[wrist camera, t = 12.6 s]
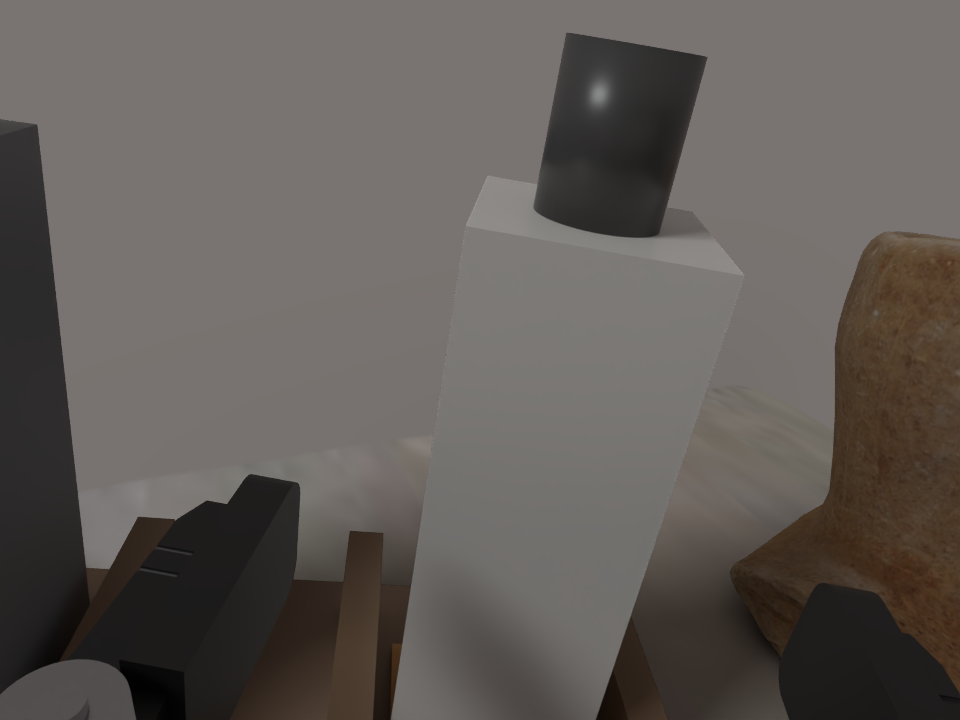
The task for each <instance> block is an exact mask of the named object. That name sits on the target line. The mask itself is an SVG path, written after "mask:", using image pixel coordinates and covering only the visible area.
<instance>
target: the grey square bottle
mask: <svg viewBox="0 0 960 720" xmlns="http://www.w3.org/2000/svg"><path fill="white" fill-rule="evenodd" d="M89 606H90V600H89V591H88V582H87V573H86V564H85V555H84V546H83V537H82V527H81V518H80V509H79V500H78V491H77V482H76V473H75V464H74V455H73V447H72V437H71V428H70V419H69V409H68V401H67V391H66V382H65V374H64V365H63V355H62V346H61V336H60V327H59V319H58V310H57V301H56V291H55V282H54V273H53V264H52V255H51V245H50V237H49V227H48V218H47V210H46V200H45V191H44V182H43V173H42V164H41V155H40V146H39V136H38V127H37V125H36V124H29V123H22V122H15V121H8V120H1V119H0V694H1V693H2V692H4V691H5V690H6V689H7V688H8V687H9V686H11V685H12V684H13V683H15V682H16V681H17V680H19V679H21V678H22V677H24V676H26V675H27V674H29V673H31V672H33V671H35V670H37V669H40V668H42V667H45V666H48V665H51V664H54V663H58V662H59V661H60V659H61V657H62V655H63V654H64V652H65V650H66V648H67V646H68V645H69V643H70V641H71V639H72V637H73V635H74V634H75V632H76V630H77V628H78V626H79V624H80V623H81V621H82V619H83V617H84V615H85V613H86V612H87V610H88V608H89Z"/></svg>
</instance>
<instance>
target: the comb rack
mask: <svg viewBox="0 0 960 720" xmlns="http://www.w3.org/2000/svg"><path fill="white" fill-rule="evenodd" d="M174 522H175V519H163V518H148V517H138V518H137V520H136V522H135V524H134V526H133V527H132V529H131V531H130V533H129V535H128V537H127V538H126V540H125V542H124V544H123V546H122V548H121V549H120V551H119V553H118V555H117V557H116V559H115V560H114V562H113V564H112V566H111V568H110V569H95V568H86V573H87V582H88V591H89V600H90V606H89V608H88V610H87V612H86V613H85V615H84V617H83V619H82V621H81V623H80V624H79V626H78V628H77V630H76V632H75V634H74V635H73V637H72V639H71V641H70V643H69V645H68V646H67V648H66V650H65V652H64V654H63V655H62V657H61V659H60V661H59V662H62V661H66V660H67V659H68V658H69V657H70V655H71V654H72V653H73V652H74V651H75V649H76V648H77V647H78V646H79V644H80V643H81V642H82V640H83V639H84V638H85V637H86V635H87V634H88V633H89V631H90V630H91V629H92V628H93V626H94V625H95V624H96V622H97V621H98V620H99V619H100V617H101V616H102V615H103V613H104V612H105V611H106V610H107V608H108V607H109V606H110V604H111V603H112V602H113V601H114V599H115V598H116V597H117V595H118V594H119V593H120V592H121V590H122V589H123V588H124V586H125V585H126V584H127V583H128V581H129V580H130V579H131V577H132V576H133V575H134V574H135V572H136V571H138V572H139V570H140V567H141V565H142V563H143V562H144V561H145V560H146V558H147V557H148V556H149V554H150V553H151V552H152V551H153V550H156V548H157V544H158V543H159V542H160V540H161V539H162V538H163V536H164V535H165V534H166V533H167V531H168V530H169V529H170V527H171V526H172V525H173V524H174ZM382 549H383V533H373V532H358V531H350V534H349V542H348V550H347V558H346V566H345V575H344V582H328V581H310V580H293V581H292V584H291V588H290V591H289V594H288V596H287V599H286V601H285V604H284V606H283V608H282V610H281V612H280V614H279V616H278V618H277V621H276V623H275V625H274V627H273V629H272V631H271V633H270V635H269V638H268V640H267V642H266V644H265V646H264V648H263V650H262V652H261V654H260V657H259V659H258V661H257V663H256V665H255V667H254V669H253V671H252V674H251V676H250V678H249V680H248V682H247V684H246V686H245V688H244V690H243V693H242V695H241V697H240V699H239V701H238V703H237V705H236V707H235V710H234V712H233V714H232V716H231V718H230V720H391V716H392V709H393V703H394V696H395V689H396V683H397V676H398V670H399V663H400V656H401V650H402V643H403V636H404V630H405V623H406V617H407V610H408V603H409V597H410V590H411V586H399V585H382V584H381V566H382ZM596 720H668V718H667V715H666V713H665V710H664V707H663V704H662V702H661V699H660V696H659V693H658V690H657V688H656V685H655V682H654V679H653V677H652V674H651V671H650V668H649V666H648V663H647V660H646V657H645V654H644V652H643V649H642V646H641V643H640V641H639V638H638V635H637V632H636V630H635V627H634V624H633V621H632V619H631V616H630V619H629V622H628V625H627V628H626V631H625V634H624V637H623V640H622V643H621V646H620V649H619V652H618V655H617V658H616V661H615V664H614V667H613V670H612V673H611V676H610V679H609V682H608V685H607V688H606V691H605V694H604V697H603V700H602V703H601V706H600V709H599V712H598V714H597V717H596Z"/></svg>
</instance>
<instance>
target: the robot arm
mask: <svg viewBox="0 0 960 720" xmlns="http://www.w3.org/2000/svg"><path fill="white" fill-rule="evenodd" d="M299 506H300V486H299V484H298V483H296V482H291V481H285V480H280V479H275V478H269V477H264V476H259V475H253V474H250V475H248V476H247V477H246V478H245V479H244V481H243V482H242V484H241V485H240V486H239V488H238V489H237V491H236V492H235V494H234V495H233V497H232V498H231V499H230V501H229V502H228V504H223V503H217V502H212V501H205V502H204V503H202V504H201V505H199V506H197V507H196V508H194V509H193V510H191V511H189V512H188V513H186V514H185V515H183V516H181V517H180V518H178V519H177V520H176V521H175V522H174V524H173V525H172V526H171V527H170V529H169V530H168V531H167V533H166V534H165V535H164V536H163V538H162V539H161V540H160V542H159V543H158V544H157V548H156V550H153V551H152V552H151V553H150V554H149V556H148V557H147V558H146V560H145V561H144V562H143V563H142V565H141V567H140V570H139V572H138V571H136V572H135V574H134V575H133V576H132V577H131V579H130V580H129V581H128V583H127V584H126V585H125V586H124V588H123V589H122V590H121V592H120V593H119V594H118V595H117V597H116V598H115V599H114V601H113V602H112V603H111V604H110V606H109V607H108V608H107V610H106V611H105V612H104V613H103V615H102V616H101V617H100V619H99V620H98V621H97V622H96V624H95V625H94V626H93V628H92V629H91V630H90V631H89V633H88V634H87V635H86V637H85V638H84V639H83V640H82V642H81V643H80V644H79V646H78V647H77V648H76V649H75V651H74V652H73V653H72V654H71V655H70V657H69V658H68V659H67V660H66V661H62V662H58V663H54V664H51V665H48V666H45V667H42V668H40V669H37V670H35V671H33V672H31V673H29V674H27V675H26V676H24V677H22V678H21V679H19V680H17V681H16V682H15V683H13V684H12V685H11V686H9V687H8V688H7V689H6V690H5V691H4V692H2V693H1V694H0V720H230V718H231V716H232V714H233V712H234V710H235V707H236V705H237V703H238V701H239V699H240V697H241V695H242V693H243V690H244V688H245V686H246V684H247V682H248V680H249V678H250V676H251V674H252V671H253V669H254V667H255V665H256V663H257V661H258V659H259V657H260V654H261V652H262V650H263V648H264V646H265V644H266V642H267V640H268V638H269V635H270V633H271V631H272V629H273V627H274V625H275V623H276V621H277V618H278V616H279V614H280V612H281V610H282V608H283V606H284V604H285V601H286V599H287V596H288V594H289V591H290V588H291V584H292V581H293V577H294V572H295V567H296V558H297V541H298V523H299ZM779 686H780V692H781V696H782V700H783V703H784V705H785V708H786V711H787V714H788V717H789V720H960V693H959V691H958V690H957V688H956V687H955V685H954V683H953V682H952V680H951V679H950V677H949V675H948V674H947V672H946V671H945V669H944V667H943V666H942V665H941V664H940V663H939V662H938V661H937V660H936V659H935V658H934V657H933V656H932V655H931V654H930V653H929V652H928V651H927V650H926V649H925V648H924V647H923V646H922V645H921V644H920V643H919V642H918V641H917V640H916V639H915V638H914V637H913V636H912V635H911V634H907V633H902V632H901V630H900V628H899V627H898V625H897V623H896V622H895V620H894V618H893V617H892V615H891V613H890V611H889V610H888V608H887V606H886V605H885V603H884V601H883V600H882V599H881V597H880V596H879V595H878V594H876V593H875V592H872V591H867V590H861V589H856V588H850V587H845V586H840V585H834V584H829V583H820V584H818V585H817V586H816V587H815V588H814V589H813V591H812V592H811V594H810V596H809V599H808V601H807V603H806V605H805V607H804V609H803V611H802V613H801V615H800V618H799V620H798V622H797V624H796V626H795V628H794V630H793V632H792V634H791V636H790V639H789V641H788V643H787V645H786V647H785V649H784V651H783V654H782V657H781V661H780V667H779Z"/></svg>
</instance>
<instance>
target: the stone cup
mask: <svg viewBox="0 0 960 720" xmlns="http://www.w3.org/2000/svg"><path fill="white" fill-rule="evenodd" d="M730 575H731V580H732V582H733V585H734V587H735V589H736V591H737V592H738V594H739V595H740V597H741V598H742V599H743V601H744V602H745V604H746V605H747V607H748V609H749V610H750V612H751V614H752V615H753V617H754V619H755V621H756V622H757V624H758V626H759V628H760V629H761V631H762V633H763V634H764V636H765V637H766V639H767V640H768V641H769V642H770V643H771V644H772V646H773V647H774V648H775V650H776V651H777V653H778V654H779V656H780V657H782V654H783V651H784V649H785V647H786V645H787V643H788V641H789V639H790V636H791V634H792V632H793V630H794V628H795V626H796V624H797V622H798V620H799V618H800V615H801V613H802V611H803V609H804V607H805V605H806V603H807V601H808V599H809V596H810V594H811V592H812V591H813V589H814V588H815V587H816V586H817V585H818V584H820V583H829V584H834V585H840V586H845V587H850V588H856V589H861V590H867V591H872V592H875V593H876V594H878V595H879V596H880V597H881V599H882V600H883V601H884V603H885V605H886V606H887V608H888V610H889V611H890V613H891V615H892V617H893V618H894V620H895V622H896V623H897V625H898V627H899V628H900V630H901V632H902V633H907V634H911V635H912V636H913V637H914V638H915V639H916V640H917V641H918V642H919V643H920V644H921V645H922V646H923V647H924V648H925V649H926V650H927V651H928V652H929V653H930V654H931V655H932V656H933V657H934V658H935V659H936V660H937V661H938V662H939V663H940V664H941V665H942V666H943V667H944V669H945V671H946V672H947V674H948V675H949V677H950V679H951V680H952V682H953V683H954V685H955V687H956V688H957V690H958V691H959V693H960V239H953V238H946V237H940V236H934V235H928V234H918V233H910V232H884V233H882V234H880V235H878V236H877V237H875V238H874V239H873V240H871V242H870V243H869V244H868V245H867V247H866V248H865V249H864V251H863V253H862V255H861V258H860V260H859V263H858V266H857V269H856V272H855V275H854V278H853V281H852V283H851V286H850V288H849V291H848V294H847V297H846V300H845V303H844V306H843V310H842V313H841V317H840V321H839V324H838V331H837V338H836V343H835V423H834V444H833V458H832V469H831V479H830V490H829V493H828V495H827V497H826V499H825V501H824V503H823V505H821V506H819V507H817V508H815V509H813V510H812V511H810V512H808V513H807V514H805V515H803V516H802V517H800V518H799V519H798V520H796V521H795V522H794V523H792V524H791V525H790V526H788V527H787V528H786V529H784V530H783V531H782V532H780V533H779V534H777V535H776V536H775V537H773V538H772V539H771V540H769V541H768V542H767V543H766V544H764V545H763V546H761V547H760V548H758V549H757V550H756V551H754V552H753V553H751V554H750V555H749V556H747V557H746V558H744V559H742V560H740V561H739V562H737V563H735V564H734V566H733V567H732V569H731V571H730Z"/></svg>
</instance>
